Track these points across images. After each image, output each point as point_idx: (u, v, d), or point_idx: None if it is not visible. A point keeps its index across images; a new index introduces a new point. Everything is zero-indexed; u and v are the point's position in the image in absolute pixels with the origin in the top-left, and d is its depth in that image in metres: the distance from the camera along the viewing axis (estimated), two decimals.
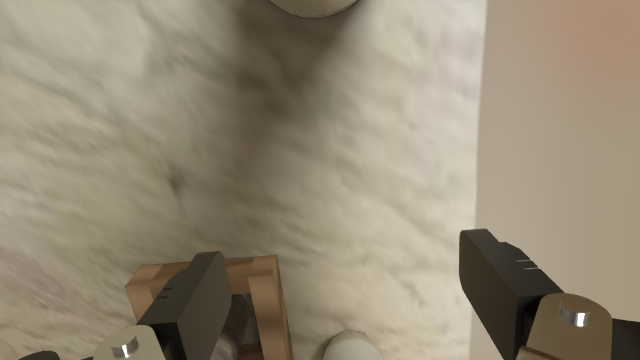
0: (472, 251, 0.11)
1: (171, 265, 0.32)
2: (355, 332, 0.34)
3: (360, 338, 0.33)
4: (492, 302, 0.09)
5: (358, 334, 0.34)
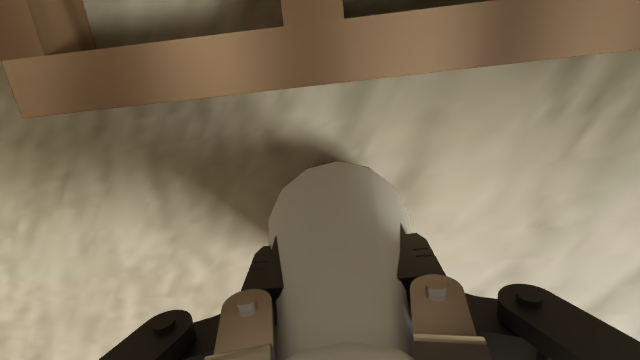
0: None
1: None
2: None
3: None
4: None
5: None
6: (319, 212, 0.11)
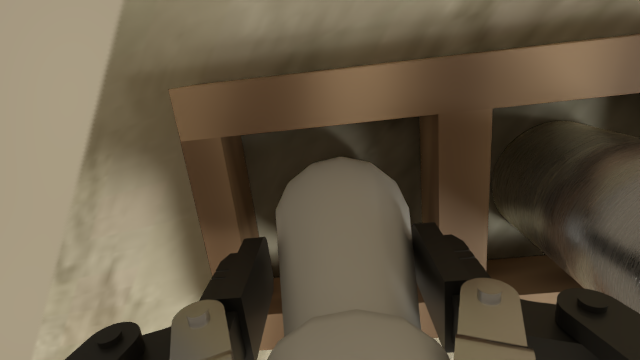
0: (419, 242, 0.11)
1: None
2: None
3: None
4: (431, 288, 0.10)
5: None
6: (325, 202, 0.12)
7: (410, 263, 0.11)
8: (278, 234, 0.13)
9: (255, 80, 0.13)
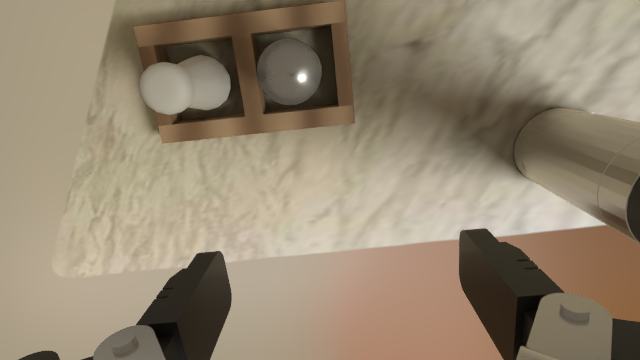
0: (472, 251, 0.11)
1: None
2: None
3: (230, 88, 0.40)
4: (492, 302, 0.09)
5: None
6: (184, 62, 0.36)
7: (207, 77, 0.35)
8: None
9: (164, 23, 0.37)
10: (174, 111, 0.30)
